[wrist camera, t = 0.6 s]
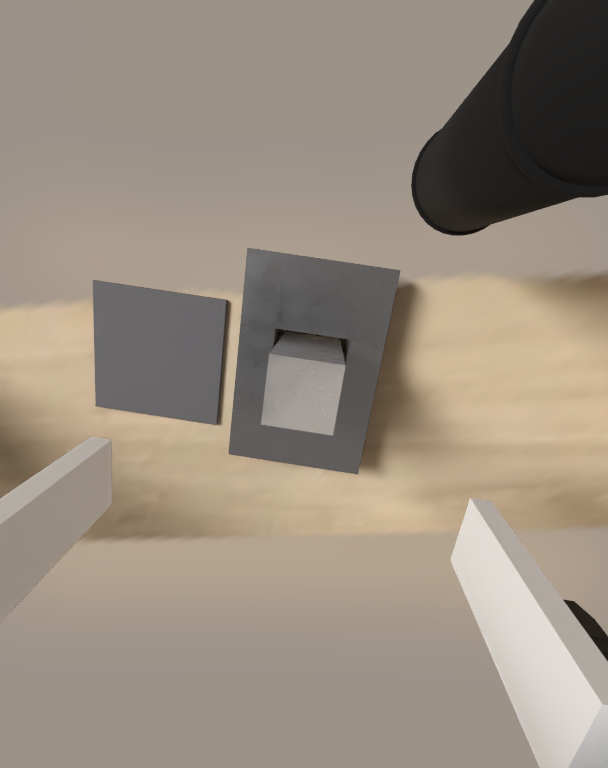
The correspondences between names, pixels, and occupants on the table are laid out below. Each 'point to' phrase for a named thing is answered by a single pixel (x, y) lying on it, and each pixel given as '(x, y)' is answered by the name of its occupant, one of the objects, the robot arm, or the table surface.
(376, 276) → the square hole plate
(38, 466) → the table surface
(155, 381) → the rubber pad
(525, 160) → the aerosol can
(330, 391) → the rectangular peg block
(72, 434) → the table surface
